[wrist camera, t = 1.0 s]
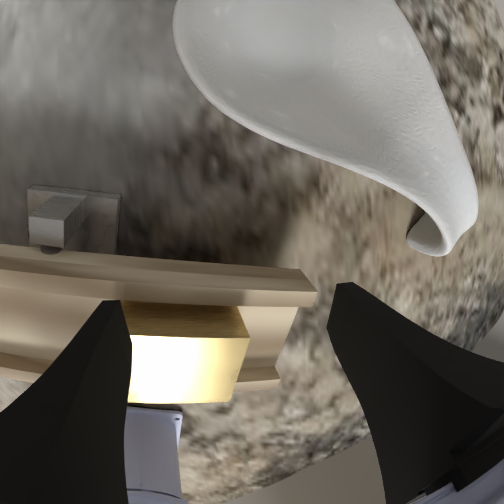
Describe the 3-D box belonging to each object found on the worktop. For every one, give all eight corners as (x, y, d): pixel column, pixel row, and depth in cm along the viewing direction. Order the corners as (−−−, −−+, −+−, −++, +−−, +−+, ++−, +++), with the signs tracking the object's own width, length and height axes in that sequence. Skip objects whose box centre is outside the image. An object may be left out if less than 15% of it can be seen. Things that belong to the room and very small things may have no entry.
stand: (116, 345, 22) (109, 391, 18) (47, 333, 20) (31, 375, 16) (121, 194, 17) (102, 223, 13) (33, 184, 15) (-3, 210, 11)
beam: (262, 358, 22) (275, 389, 20) (-78, 324, 12) (-92, 349, 10) (296, 262, 19) (318, 290, 16) (-106, 226, 9) (-129, 246, 6)
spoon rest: (133, 45, 13) (101, 12, 7) (275, -67, 11) (317, -124, 5) (378, 272, 24) (430, 326, 18) (465, 174, 21) (527, 203, 15)
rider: (218, 363, 19) (229, 401, 16) (121, 361, 16) (121, 401, 14) (234, 300, 17) (250, 338, 14) (120, 293, 14) (117, 334, 12)
